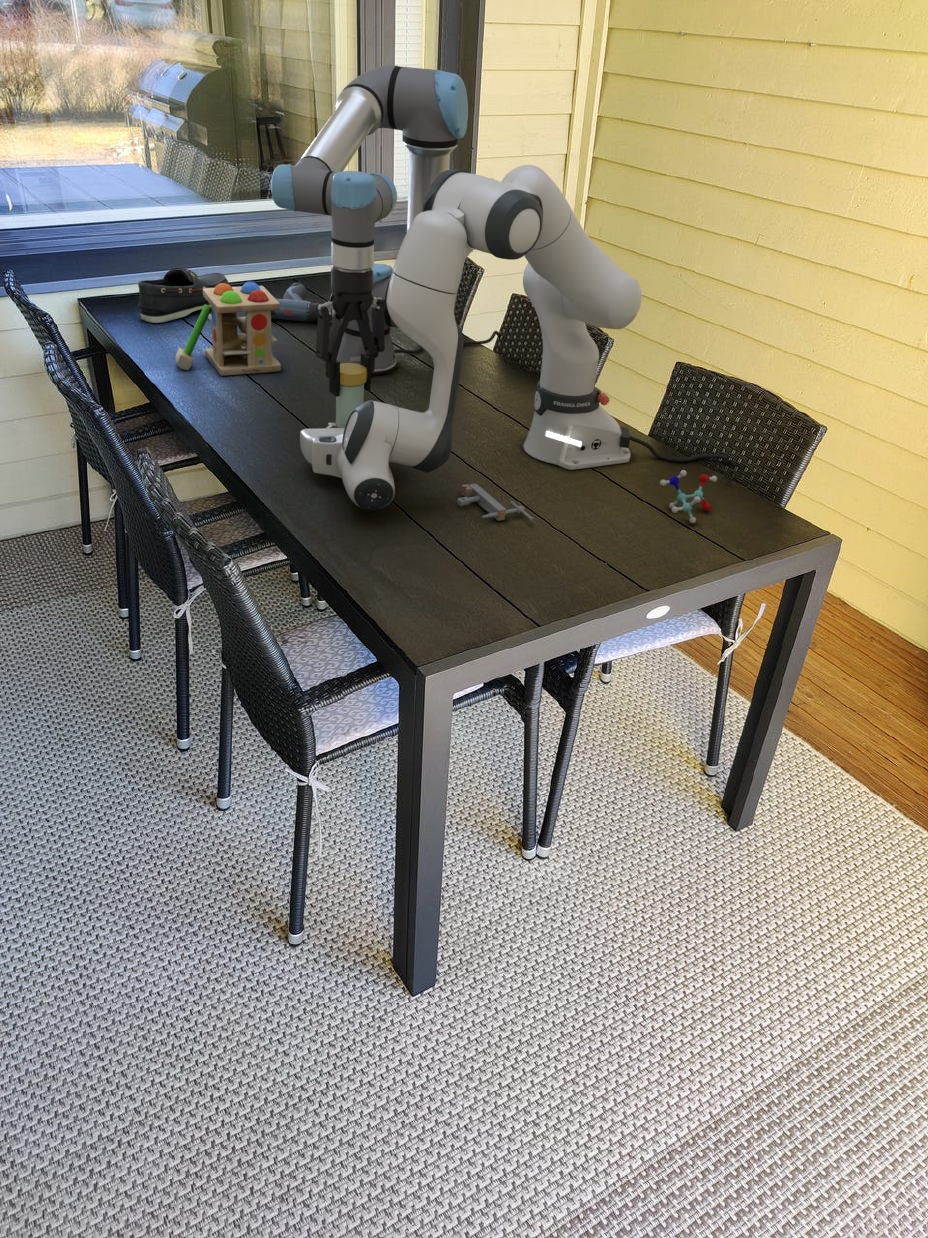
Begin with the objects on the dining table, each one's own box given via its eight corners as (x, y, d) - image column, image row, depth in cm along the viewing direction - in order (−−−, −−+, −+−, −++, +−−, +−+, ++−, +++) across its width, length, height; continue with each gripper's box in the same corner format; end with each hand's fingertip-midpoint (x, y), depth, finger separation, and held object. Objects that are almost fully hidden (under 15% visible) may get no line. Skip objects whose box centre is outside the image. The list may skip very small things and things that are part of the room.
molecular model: (721, 517, 179) (705, 464, 177) (670, 531, 182) (655, 480, 181) (726, 508, 189) (711, 458, 188) (678, 522, 193) (663, 473, 191)
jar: (346, 448, 198) (348, 365, 188) (367, 456, 196) (369, 372, 186) (330, 456, 194) (330, 371, 185) (350, 464, 192) (352, 379, 182)
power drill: (344, 304, 276) (335, 327, 259) (277, 298, 275) (264, 321, 258) (344, 285, 273) (335, 306, 256) (277, 279, 272) (264, 300, 255)
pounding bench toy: (183, 379, 220) (176, 299, 210) (169, 357, 231) (162, 280, 221) (282, 371, 230) (280, 294, 220) (264, 350, 240) (262, 276, 230)
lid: (337, 386, 183) (337, 374, 182) (330, 374, 188) (331, 363, 187) (369, 385, 185) (370, 374, 184) (362, 373, 190) (362, 362, 188)
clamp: (448, 487, 182) (493, 478, 187) (447, 497, 184) (492, 489, 188) (489, 523, 172) (536, 514, 177) (488, 534, 173) (535, 524, 178)
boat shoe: (248, 301, 272) (246, 262, 267) (158, 325, 248) (153, 283, 243) (214, 293, 278) (211, 255, 272) (123, 315, 254) (117, 274, 248)
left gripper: (386, 257, 182) (382, 377, 195) (294, 266, 172) (296, 391, 185) (408, 268, 177) (402, 390, 190) (314, 277, 167) (314, 405, 180)
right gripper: (415, 438, 182) (401, 409, 193) (304, 441, 177) (296, 411, 188) (413, 469, 186) (399, 439, 197) (305, 473, 181) (296, 441, 192)
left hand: (350, 390), depth 188 cm, fingers closed on lid, 6 cm apart
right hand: (348, 425), depth 192 cm, fingers closed on jar, 5 cm apart
